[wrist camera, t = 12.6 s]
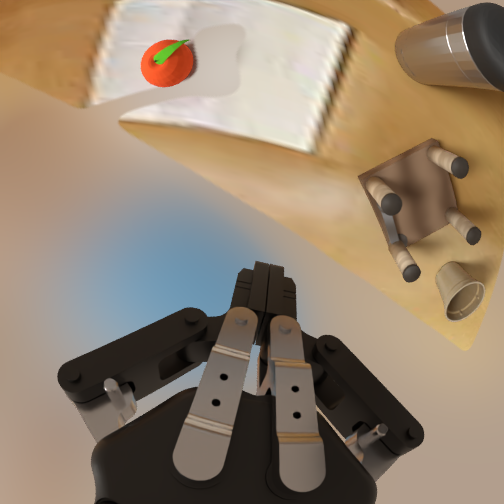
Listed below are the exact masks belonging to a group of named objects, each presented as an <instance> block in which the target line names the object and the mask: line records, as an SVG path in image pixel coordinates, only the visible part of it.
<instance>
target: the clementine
mask: <svg viewBox="0 0 504 504" xmlns="http://www.w3.org/2000/svg"><path fill="white" fill-rule="evenodd" d="M187 41H189V40H183V41H177V40H163V41H160V42H158V43H155V44H154V45H152V46H151V47H150V48H148V50H147V51H146V52H145V53H144V55H143V57H142V61H141V71H142V74H143V76H144V77H145V79H146V80H147V81H148V82H149V83H150V84H153V85H155V86H158V87H170V86H174V85H176V84H179V83H180V82H182V81H183V80H184V79H185V78H186V77H187V76H188V75H189V73H190V71H191V70H192V66H193V55H192V52H191V51H190V49H189V48H188V47H187V46H186V45H185V44H184V43H185V42H187Z"/></svg>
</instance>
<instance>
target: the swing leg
mask: <svg viewBox="0 0 504 504" xmlns="http://www.w3.org/2000/svg"><path fill="white" fill-rule="evenodd" d="M377 207H378V208H379V210H380V211H381V213H382V216H383V220H384V223H385V226H386V229H387V232H388V236H389V239H390V244H389V247H388V248H389V251H390V253H391V255H392V256H393V258H394V260H395V262H396V264H397V266H398V267H399V269H400V271H401V273H402V275H403V278H404V280H405V281H406V282H414V281H416V280H417V279H418V278H419V276H420V274H421V271H420V268H419V267H418V266H417V264H416V263H415V261H414V259H413V258H412V256H411V255H410V253H409V251H408V250H407V248H406V247H405V245H404V244H403V242H402V241H401V240H399V238H398V234H397V231H396V227H395V223H394V220H393V217H392V216H389V215H387V214H385V213H384V212H383V210H382V208H381V207H380V206H379V204H378V203H377Z"/></svg>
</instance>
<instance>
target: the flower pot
mask: <svg viewBox="0 0 504 504" xmlns="http://www.w3.org/2000/svg"><path fill="white" fill-rule="evenodd" d="M436 284H437V287H438V289H439V292H440V294H441V297H442V300H443V303H444V309H445V317H446V319H447V320H449V321H451V322H457V321H461V320H463V319H465V318H467V317H468V316H470V315H471V314H472V313H474V312H475V311H476V310H477V308H478V307H479V306H480V304H481V303H482V301H483V299H484V296H485V287H484V285H483V284H482V283H481V282H479V281H477V280H475V279H473V278H472V277H471V276H470V275H469V274H468V273H467V272H466V271H465V270H464V269H463V268H462V267H461V266H460V265H459V264H458V263H456V262H450V263H447V264H445V265H444V266H443V267H442V268H441V270H440V271H439V272H438V273H437V275H436Z"/></svg>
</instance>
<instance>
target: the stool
mask: <svg viewBox="0 0 504 504" xmlns="http://www.w3.org/2000/svg"><path fill="white" fill-rule="evenodd" d="M468 170H469V165H468V162H467V161H466V160H465V159H464V158H462V157H459V156H457V155H455V154H453V153H451V152H449V151H447V150H445V149H442V148H440V145H439V142H438V141H437V140H435V139H432V138H431V139H429V140H427V141H425V142H423V143H421V144H419V145H417V146H415V147H414V148H412V149H410V150H408V151H406V152H404V153H402V154H400V155H398V156H396V157H394V158H392V159H390V160H388V161H386V162H384V163H382V164H380V165H378V166H377V167H375V168H373V169H371V170H369V171H367V172H365V173H363V174H361V175H359V176H358V178H359V180H360V182H361V184H362V186H363V188H364V190H365V193H366V195H367V197H368V199H369V201H370V203H371V205H372V208H373V210H374V212H375V214H376V217H377V219H378V221H379V224H380V226H381V228H382V231H383V233H384V236H385V238H386V241H387V243H388V246H389V244H390V239H389V236H388V232H387V229H386V226H385V223H384V220H383V216H382V213H381V211H380V210H379V208H378V207H377V203H378V204H379V206H380V207H381V208H382V210H383V212H384V213H385V214H387V215H389V216H392V217H393V220H394V223H395V227H396V231H397V234H398V238H399V240H401V241H402V242H403V244H404V245H405V247H407V246H409V245H411V244H413V243H415V242H417V241H419V240H420V239H422V238H424V237H426V236H428V235H430V234H431V233H433V232H435V231H437V230H439V229H441V228H442V227H444V226H446V225H448V224H449V223H450V224H451V225H452V226H453V227H454V228H455V229H456V230H457V231H458V232H459V233H460V234H461V235H462V236H463V237H464V238H465V239H466V240H467V242H468V243H469V244H470V245H475V244H476V243H478V241H479V240H480V238H481V231H480V230H479V229H478V228H477V227H476V226H475V225H474V224H473V223H472V222H471V221H469V220H468V219H467V218H466V217H465V216H464V215H463V214H462V213H461V212H460V211H458V208H457V204H456V200H455V196H454V192H453V188H452V184H451V180H450V177H449V173H448V172H450V173H451V174H453V175H454V176H455V177H457V178H459V179H462V178H464V177H465V176H466V175H467V173H468Z"/></svg>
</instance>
